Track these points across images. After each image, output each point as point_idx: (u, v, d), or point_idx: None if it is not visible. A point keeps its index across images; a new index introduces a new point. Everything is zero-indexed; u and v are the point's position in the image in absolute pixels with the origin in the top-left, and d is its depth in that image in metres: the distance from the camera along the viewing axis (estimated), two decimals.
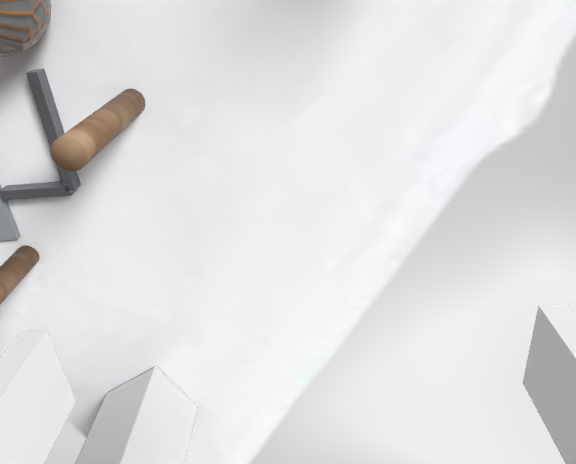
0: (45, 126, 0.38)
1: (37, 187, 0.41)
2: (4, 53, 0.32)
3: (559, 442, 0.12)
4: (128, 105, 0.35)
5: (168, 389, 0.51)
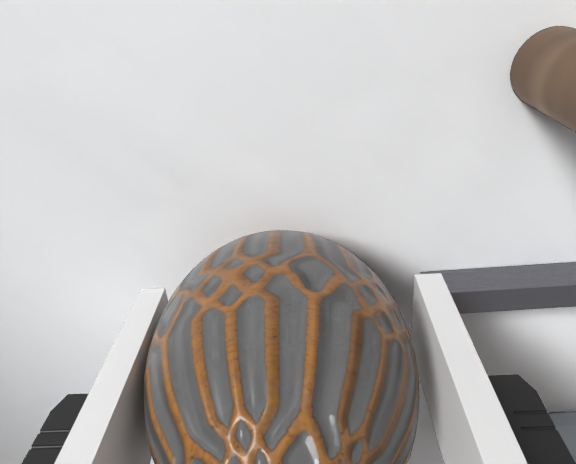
0: (563, 304, 0.15)
1: None
2: (416, 387, 0.11)
3: (426, 393, 0.13)
4: None
5: None
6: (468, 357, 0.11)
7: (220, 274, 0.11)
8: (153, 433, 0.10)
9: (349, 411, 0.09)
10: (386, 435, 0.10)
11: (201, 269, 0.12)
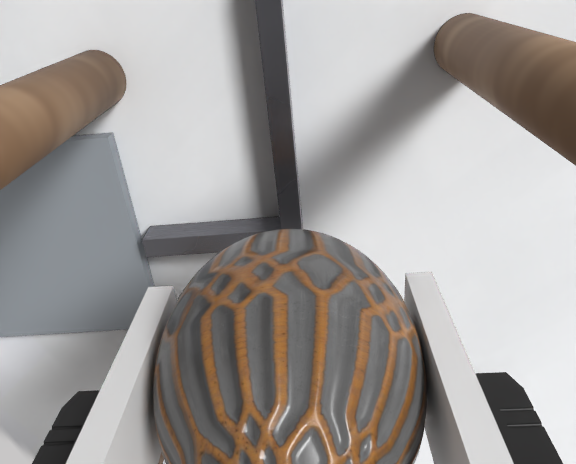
0: (270, 100, 0.17)
1: (221, 231, 0.20)
2: (424, 385, 0.11)
3: None
4: None
5: None
6: (457, 355, 0.11)
7: (229, 272, 0.11)
8: (163, 429, 0.10)
9: (357, 408, 0.09)
10: (394, 433, 0.10)
11: (210, 267, 0.12)
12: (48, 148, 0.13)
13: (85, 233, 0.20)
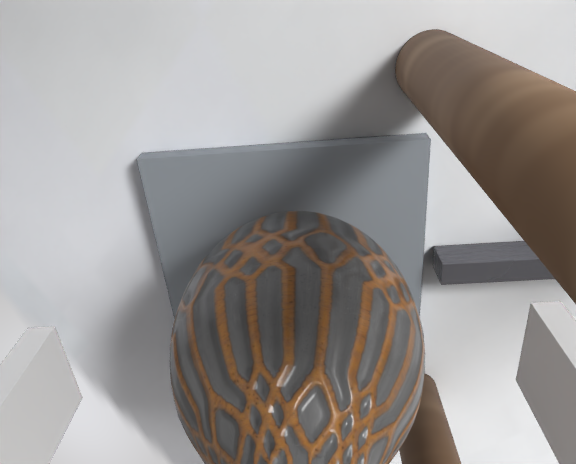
0: None
1: None
2: (421, 354, 0.12)
3: (550, 438, 0.12)
4: None
5: None
6: None
7: (241, 248, 0.12)
8: (179, 390, 0.11)
9: (358, 370, 0.10)
10: (392, 394, 0.11)
11: (223, 245, 0.13)
12: None
13: None
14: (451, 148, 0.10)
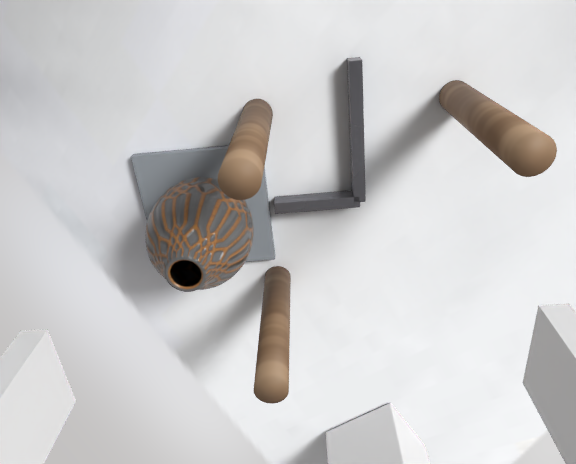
0: (353, 125, 0.32)
1: (318, 198, 0.35)
2: (244, 229, 0.31)
3: (558, 442, 0.12)
4: None
5: (406, 428, 0.45)
6: None
7: (173, 189, 0.31)
8: (148, 241, 0.30)
9: (211, 226, 0.29)
10: (225, 237, 0.29)
11: (167, 190, 0.32)
12: None
13: None
14: None
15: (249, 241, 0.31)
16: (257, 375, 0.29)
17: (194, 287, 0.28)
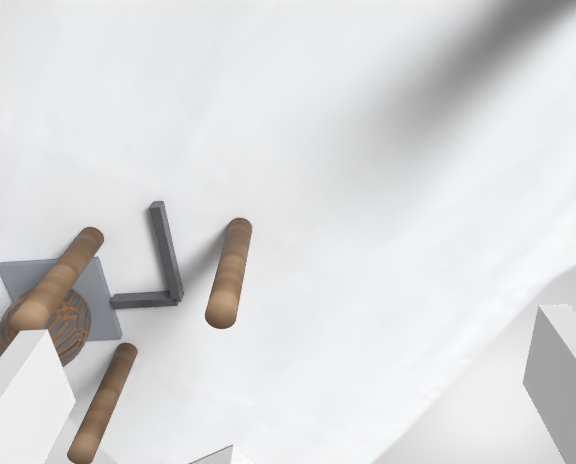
0: (161, 250, 0.42)
1: (146, 298, 0.45)
2: (71, 331, 0.41)
3: (559, 442, 0.12)
4: (245, 241, 0.39)
5: None
6: None
7: (19, 299, 0.41)
8: None
9: None
10: None
11: (18, 297, 0.42)
12: (74, 282, 0.38)
13: (85, 297, 0.45)
14: None
15: (78, 338, 0.41)
16: (71, 445, 0.39)
17: None
